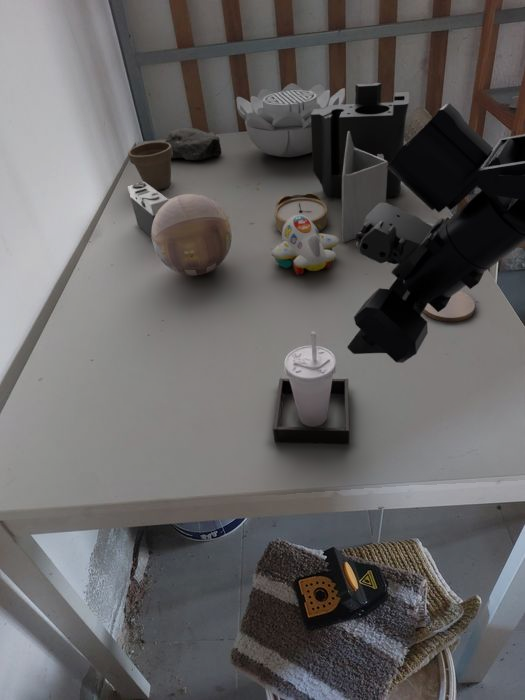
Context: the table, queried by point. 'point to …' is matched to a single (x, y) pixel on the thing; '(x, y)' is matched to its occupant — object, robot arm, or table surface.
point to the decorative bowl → (285, 118)
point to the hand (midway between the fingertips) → (367, 326)
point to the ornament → (191, 234)
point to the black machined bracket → (358, 135)
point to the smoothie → (311, 381)
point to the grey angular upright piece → (360, 187)
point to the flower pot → (153, 163)
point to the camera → (146, 204)
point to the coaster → (453, 308)
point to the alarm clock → (301, 209)
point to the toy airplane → (304, 246)
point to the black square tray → (311, 433)
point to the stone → (193, 144)
